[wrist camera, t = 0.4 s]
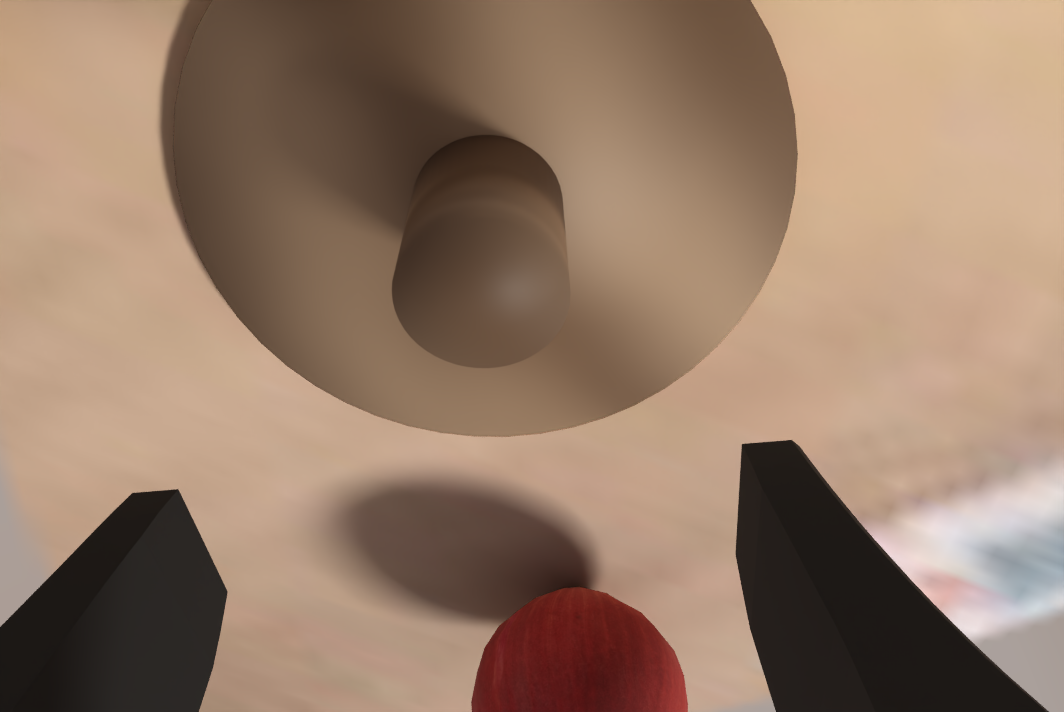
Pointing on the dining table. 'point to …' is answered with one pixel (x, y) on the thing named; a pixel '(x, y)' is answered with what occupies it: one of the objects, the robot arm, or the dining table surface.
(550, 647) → the onion
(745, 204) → the lid
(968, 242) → the dining table surface
